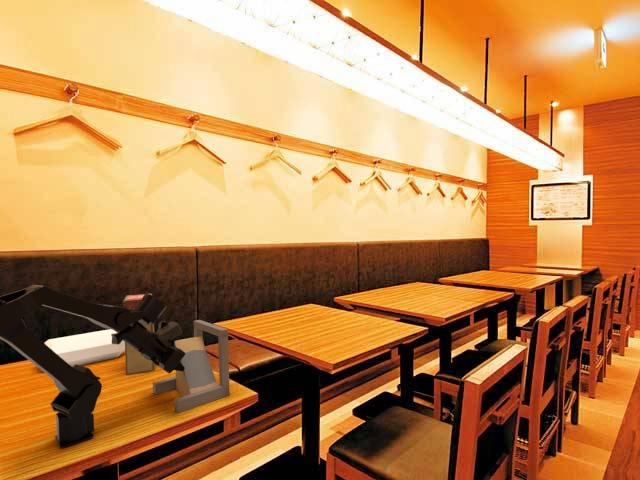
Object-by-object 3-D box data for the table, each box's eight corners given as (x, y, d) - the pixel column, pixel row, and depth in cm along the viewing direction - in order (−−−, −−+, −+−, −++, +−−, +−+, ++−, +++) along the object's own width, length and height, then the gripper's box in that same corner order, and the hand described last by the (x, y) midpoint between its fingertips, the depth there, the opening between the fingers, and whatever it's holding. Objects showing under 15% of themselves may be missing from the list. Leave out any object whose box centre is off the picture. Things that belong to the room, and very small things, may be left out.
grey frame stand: (177, 412, 98) (175, 340, 98) (153, 392, 111) (151, 328, 111) (229, 395, 108) (227, 329, 108) (201, 378, 121) (199, 319, 121)
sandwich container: (193, 407, 102) (192, 352, 101) (175, 390, 114) (173, 340, 113) (223, 398, 107) (222, 346, 107) (203, 382, 119) (201, 335, 119)
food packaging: (127, 363, 138) (125, 295, 137) (155, 359, 141) (153, 292, 141) (124, 375, 125) (122, 300, 125) (155, 371, 129) (153, 298, 129)
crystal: (129, 332, 145) (39, 348, 126) (130, 357, 145) (40, 376, 127) (119, 326, 156) (34, 339, 137) (119, 349, 156) (35, 366, 137)
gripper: (176, 319, 97) (216, 352, 105) (150, 309, 111) (188, 339, 119) (145, 357, 92) (190, 388, 100) (122, 342, 106) (163, 370, 114)
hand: (183, 369), depth 108 cm, fingers closed
